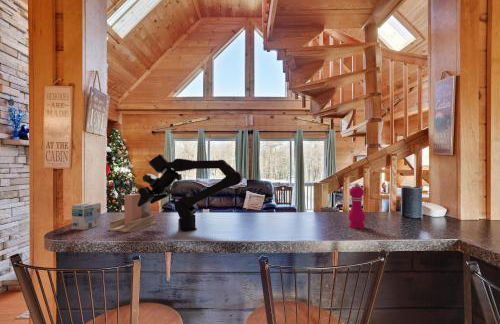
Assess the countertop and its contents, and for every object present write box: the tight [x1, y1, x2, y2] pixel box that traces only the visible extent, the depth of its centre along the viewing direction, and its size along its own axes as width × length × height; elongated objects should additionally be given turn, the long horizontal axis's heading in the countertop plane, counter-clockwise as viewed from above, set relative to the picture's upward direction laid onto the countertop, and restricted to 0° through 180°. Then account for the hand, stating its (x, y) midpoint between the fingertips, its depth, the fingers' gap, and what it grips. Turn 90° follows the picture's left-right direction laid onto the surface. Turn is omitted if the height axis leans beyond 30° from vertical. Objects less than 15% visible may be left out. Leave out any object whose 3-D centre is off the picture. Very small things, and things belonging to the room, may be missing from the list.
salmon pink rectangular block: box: [124, 193, 141, 226], centre depth 130 cm, size 4×6×14 cm, turn 165°
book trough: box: [107, 201, 157, 233], centre depth 130 cm, size 12×18×11 cm, turn 165°
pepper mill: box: [347, 182, 366, 230], centre depth 128 cm, size 7×7×20 cm
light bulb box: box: [71, 201, 102, 231], centre depth 129 cm, size 11×7×11 cm, turn 168°
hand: (144, 204), depth 128 cm, fingers open, 9 cm apart
